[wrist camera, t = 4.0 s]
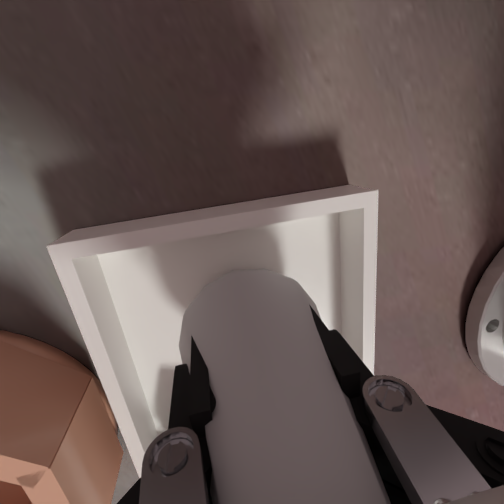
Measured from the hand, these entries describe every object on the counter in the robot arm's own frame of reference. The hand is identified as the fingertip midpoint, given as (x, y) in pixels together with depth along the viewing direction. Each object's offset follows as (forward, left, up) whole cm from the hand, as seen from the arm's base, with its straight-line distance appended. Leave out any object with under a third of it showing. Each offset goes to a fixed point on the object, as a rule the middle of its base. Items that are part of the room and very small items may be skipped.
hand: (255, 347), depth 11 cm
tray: (0, +2, -3) cm, 4 cm away
